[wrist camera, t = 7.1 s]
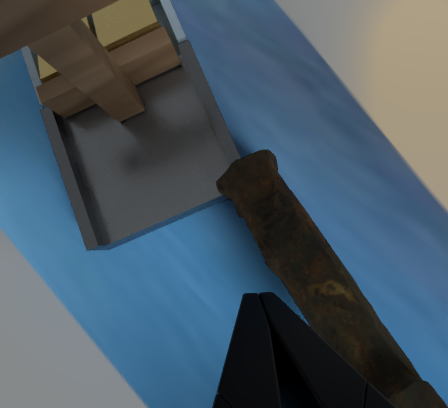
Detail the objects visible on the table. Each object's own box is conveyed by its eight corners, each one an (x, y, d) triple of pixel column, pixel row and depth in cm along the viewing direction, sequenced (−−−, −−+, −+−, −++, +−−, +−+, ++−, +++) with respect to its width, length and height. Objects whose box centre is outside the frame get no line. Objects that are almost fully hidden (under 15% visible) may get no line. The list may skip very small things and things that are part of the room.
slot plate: (251, 188, 22) (250, 179, 19) (109, 249, 23) (86, 250, 20) (197, 64, 24) (188, 39, 21) (66, 125, 25) (39, 109, 22)
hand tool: (223, 198, 22) (204, 163, 18) (276, 171, 22) (268, 129, 18) (410, 565, 13) (457, 665, 9) (499, 521, 13) (590, 602, 9)
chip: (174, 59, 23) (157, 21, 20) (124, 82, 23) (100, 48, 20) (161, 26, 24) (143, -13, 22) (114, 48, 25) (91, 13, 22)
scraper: (198, 85, 21) (131, -76, 11) (67, 146, 22) (-123, 52, 11) (181, 46, 22) (101, -147, 11) (53, 106, 23) (-141, -20, 12)
